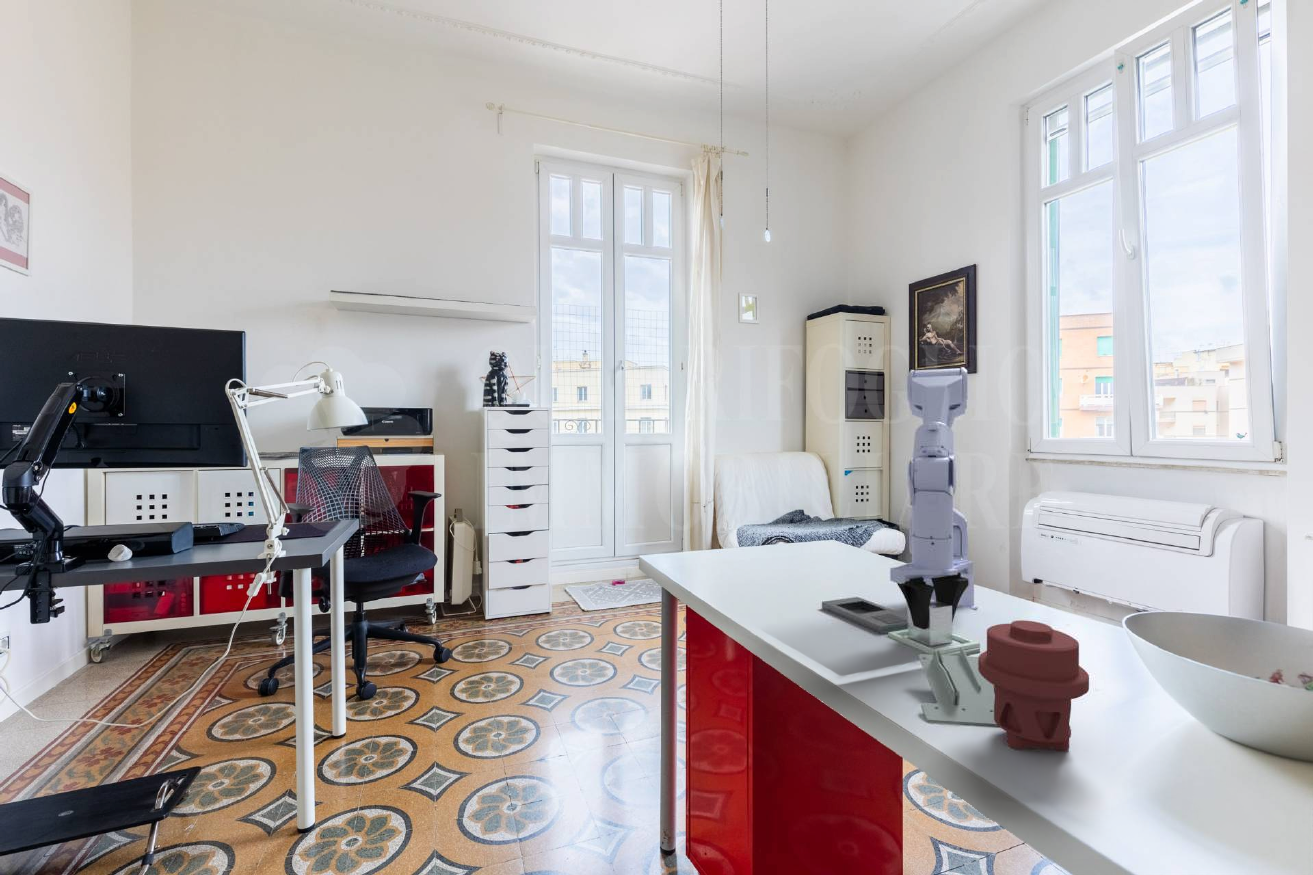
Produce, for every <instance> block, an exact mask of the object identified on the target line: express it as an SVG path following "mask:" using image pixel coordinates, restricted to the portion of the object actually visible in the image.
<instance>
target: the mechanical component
mask: <svg viewBox="0 0 1313 875" xmlns="http://www.w3.org/2000/svg"><path fill="white" fill-rule="evenodd" d="M977 657H978V670H979V673H980V674H981V675H982V676H983V677H984V678H985V679H986V680H987V681H989V682H990V683H992V684H993V685H994V694H995V701H994V720H995V722H996V724H997V725H998V726H999V728H1000V729H1001V730H1003V731H1004V732H1005V733H1006V734H1005V736H1006V737H1005V740H1006V741H1005V742H1006V745H1008V746H1009V747H1010V748H1011V749H1014V750H1026V749H1046V750H1047V749H1048V750H1054V751H1058V752H1066V751H1068V750H1069V749H1070V738H1071V737H1072V729H1071V728H1070V727H1071V726H1069V725H1070V721H1071V720H1070V719H1071V715H1072V714H1071V712H1072V700H1074V699H1078V698H1080V697H1083V696H1084V695H1085V694H1087V693H1088V692H1089V690H1090V676H1089V674H1088V672H1087V671H1086V670H1085V668H1083V667H1081V666H1080V644H1079V641H1078V640H1077V639H1075V638H1074V637H1073V636H1070V634H1067V633H1065V632H1062V631H1059V630H1056V629H1053V628H1052V627H1051V626H1050V625H1048V624H1046V623H1043V622H1038V621H1032V620H1013V621H1012V622H1011V623H1000V624H996V625H993V626H989V627H988V628H987V630H986V651H983V652H982V653H979V655H978V656H977Z"/></svg>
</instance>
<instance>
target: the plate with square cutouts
mask: <svg viewBox="0 0 1313 875" xmlns="http://www.w3.org/2000/svg"><path fill="white" fill-rule="evenodd" d="M821 610H824V611H826V612H829V613H831V614H833V615H836V616H838V617H840V618H842V619H844V620H847V621H850V622H852V623H854V624H855V625H858V626H861V627H863V628H865V629H867V630H870V631H871V632H874V633H877V634H879V635H886V634H887V635H888V632H894V631H900V630H906V629H908V614H904V613H902V612H900V611H897V610H894V609H892V608H888V607H885V606H884V605H880V604H878V603H875V602H872V601H870V600H867V599H865V598H861V597H859V596H853V597H846V598H839V599H832V600H826V601H821Z"/></svg>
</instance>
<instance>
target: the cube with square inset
mask: <svg viewBox="0 0 1313 875" xmlns="http://www.w3.org/2000/svg"><path fill="white" fill-rule="evenodd" d="M906 606H907V615H908V635H907V638H908V639H910V640H913V641H914V640H915V642H918V643H920V644H923V645H925V646H928V647H933V646H937V645H943V644H949V643H953V638H952V633H953V622H952V605H948V604H945V603H942V602H939V601H936V600H932V599H931V600H930V605H929V620H928V626H927V629H921V628H918V627H915V626H914V625H913V621H912V617H911V614H910V610H909V607H908V604H907V603H906Z"/></svg>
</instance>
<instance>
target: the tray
mask: <svg viewBox="0 0 1313 875" xmlns="http://www.w3.org/2000/svg"><path fill="white" fill-rule="evenodd" d="M887 636H888V637H889V638H892V639H895V640H896V641H899V642H901V643H904V644H906V645H908V646H910V647H913V648H915V649H917V650H920V651H922V652H924V653H926V654H928V655H933V651H934V650H936V651H937V650H940V651H941V654H942V655H947V656H960V648H961V647H963V649H964V651H965V650H966V651H965V653H966V655H967V656H973V655H976V654H977V655H978V654H981V648H980V647H981V643H980V642H979V641H975V640H974V639H970V638H968V637H965V636H963V635H959V634H956V633H955V632H952V640H956V641H958V642H960V643H959V644H954V645H947V646H943V647H938V648H932V647H930V646H928V645H926V644H923V643H921V642H919V641H916V640H915V641H914V639H911V638H909V637H905V636H908V629H906V630H900V631H894V632H888V633H887ZM969 649H970V650H969ZM954 652H955V653H954ZM949 653H950V654H949Z"/></svg>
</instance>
